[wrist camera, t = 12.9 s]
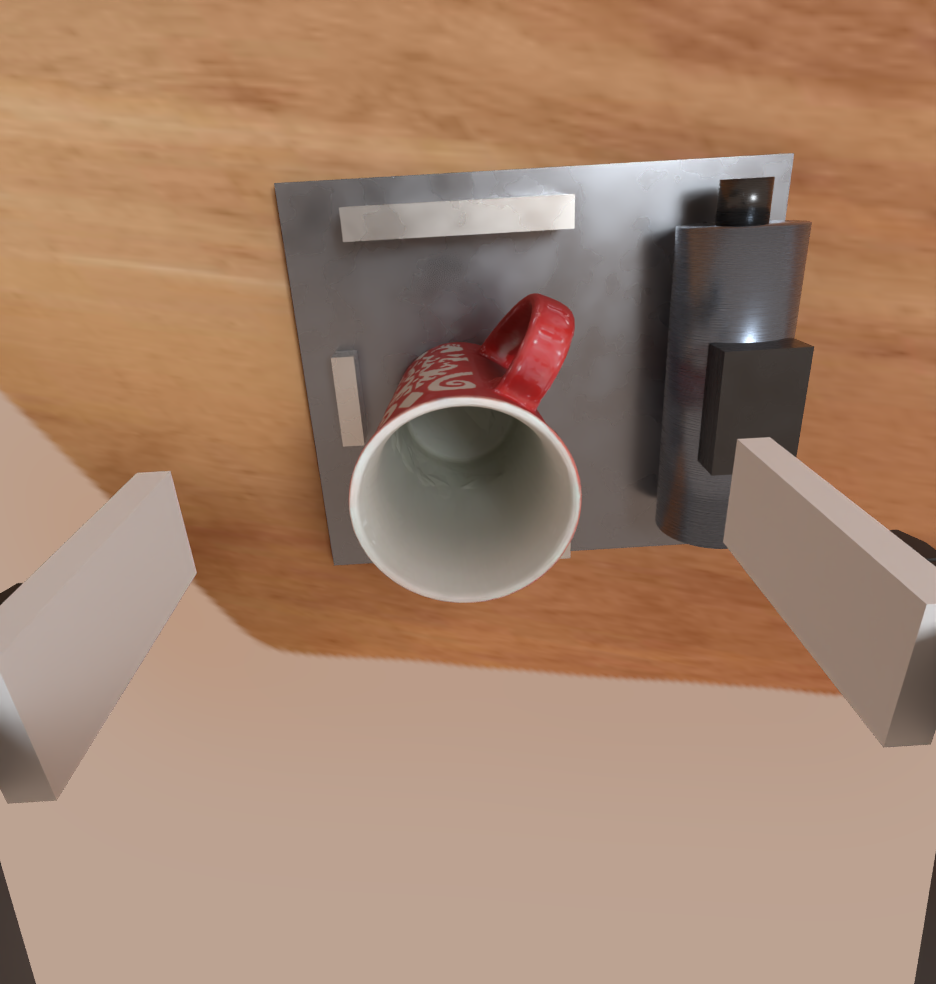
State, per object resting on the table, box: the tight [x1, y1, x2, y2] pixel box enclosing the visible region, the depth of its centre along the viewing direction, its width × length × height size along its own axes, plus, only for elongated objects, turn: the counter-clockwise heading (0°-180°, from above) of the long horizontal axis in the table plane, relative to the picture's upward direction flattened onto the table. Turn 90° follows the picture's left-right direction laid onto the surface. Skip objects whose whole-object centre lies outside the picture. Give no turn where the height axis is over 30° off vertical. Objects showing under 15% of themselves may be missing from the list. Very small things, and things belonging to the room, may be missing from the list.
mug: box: [349, 293, 582, 603], centre depth 31 cm, size 13×9×14 cm
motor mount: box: [274, 153, 814, 565], centre depth 35 cm, size 26×22×8 cm
